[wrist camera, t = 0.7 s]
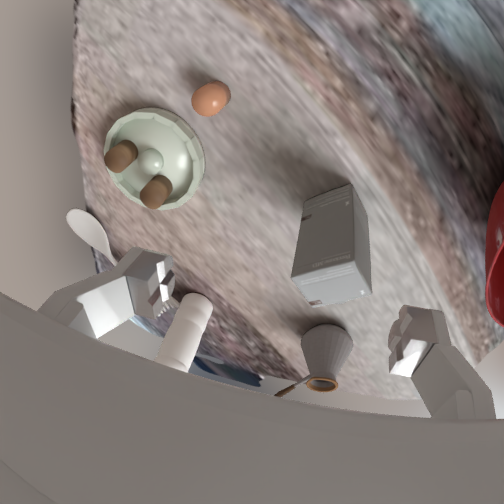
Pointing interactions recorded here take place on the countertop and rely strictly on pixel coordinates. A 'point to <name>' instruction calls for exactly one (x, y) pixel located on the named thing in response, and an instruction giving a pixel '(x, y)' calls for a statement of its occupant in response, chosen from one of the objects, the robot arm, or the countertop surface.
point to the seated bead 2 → (156, 191)
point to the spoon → (99, 239)
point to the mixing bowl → (495, 258)
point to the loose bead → (211, 98)
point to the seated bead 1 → (121, 156)
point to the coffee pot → (323, 357)
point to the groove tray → (166, 147)
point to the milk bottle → (185, 332)
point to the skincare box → (333, 249)
